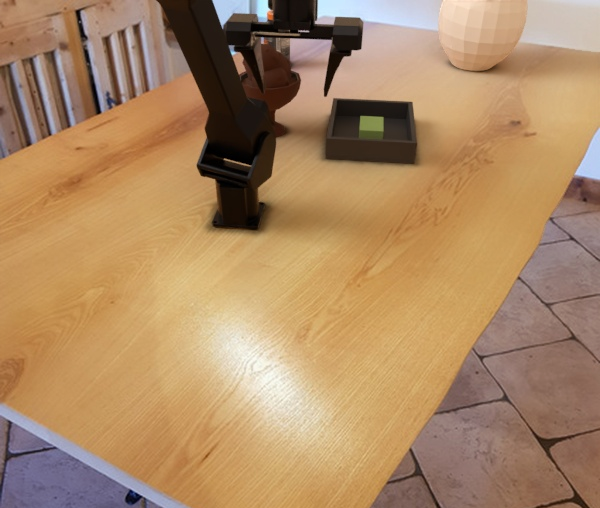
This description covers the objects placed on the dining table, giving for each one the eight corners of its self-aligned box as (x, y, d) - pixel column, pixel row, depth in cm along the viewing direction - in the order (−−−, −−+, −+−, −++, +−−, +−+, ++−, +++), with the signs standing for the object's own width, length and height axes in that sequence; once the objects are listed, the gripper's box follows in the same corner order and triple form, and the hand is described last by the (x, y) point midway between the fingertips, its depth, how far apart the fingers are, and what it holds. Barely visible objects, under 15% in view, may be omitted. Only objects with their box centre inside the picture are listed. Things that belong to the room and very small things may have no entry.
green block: (381, 148, 93) (383, 131, 91) (358, 146, 93) (359, 129, 91) (381, 133, 97) (383, 116, 95) (359, 132, 98) (360, 115, 96)
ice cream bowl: (294, 146, 94) (294, 55, 85) (232, 140, 96) (225, 50, 86) (306, 121, 102) (307, 35, 92) (248, 116, 104) (244, 31, 94)
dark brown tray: (414, 163, 90) (417, 143, 87) (325, 158, 91) (326, 138, 89) (409, 120, 103) (412, 101, 101) (332, 116, 104) (333, 97, 102)
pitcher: (427, 73, 123) (447, -59, 106) (436, 49, 136) (455, -72, 120) (513, 82, 119) (548, -54, 102) (514, 56, 132) (545, -67, 116)
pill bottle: (260, 63, 128) (258, 9, 120) (283, 59, 130) (283, 6, 122) (270, 70, 124) (268, 16, 116) (294, 67, 125) (294, 13, 118)
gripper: (368, -38, 75) (359, 78, 86) (234, -41, 77) (242, 73, 87) (366, -21, 67) (357, 105, 77) (217, -25, 69) (227, 99, 79)
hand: (294, 94), depth 80 cm, fingers open, 9 cm apart
